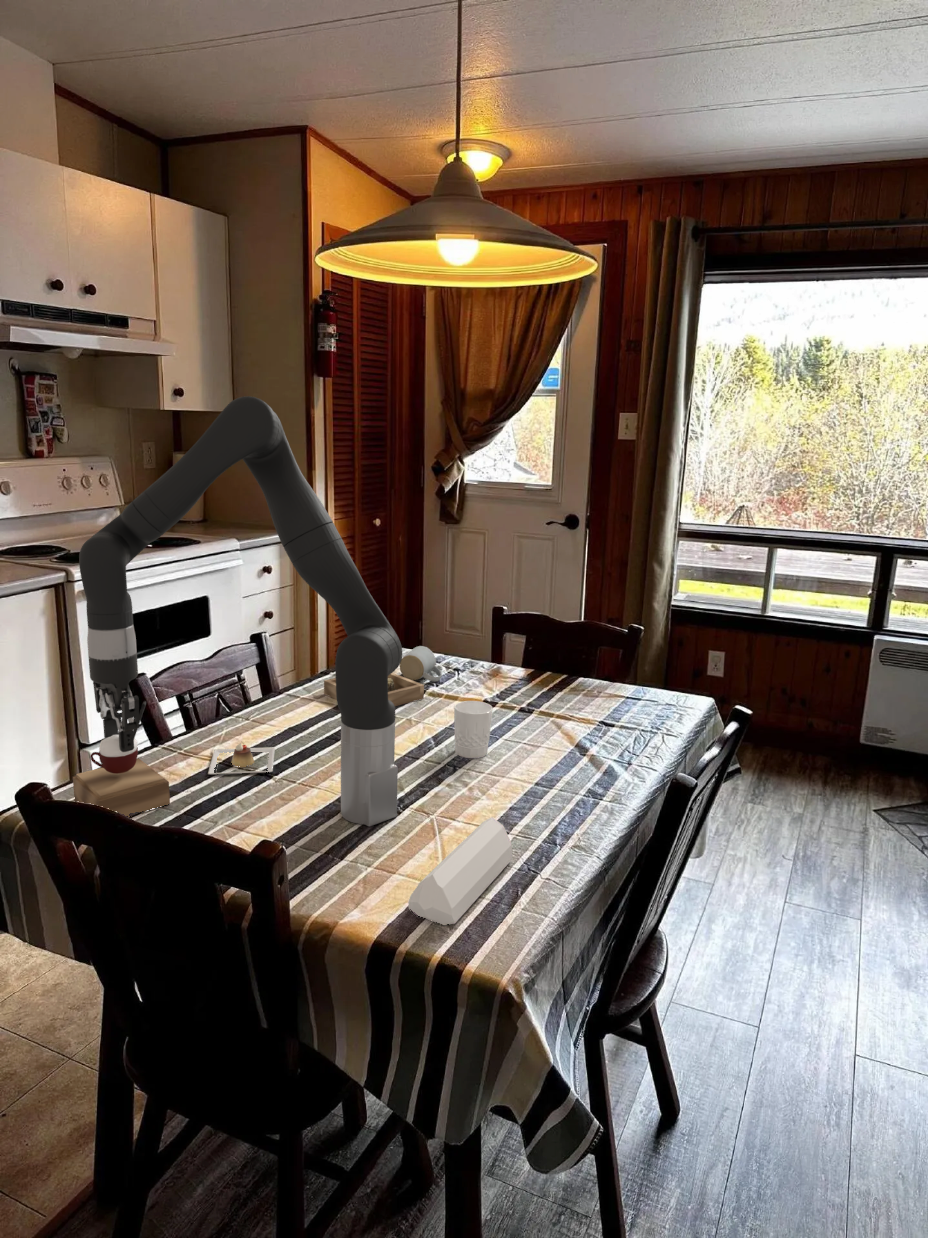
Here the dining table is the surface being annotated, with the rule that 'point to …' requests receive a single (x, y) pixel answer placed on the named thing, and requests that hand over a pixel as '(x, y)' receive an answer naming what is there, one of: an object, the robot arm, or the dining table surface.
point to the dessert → (242, 758)
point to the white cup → (472, 728)
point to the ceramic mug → (419, 664)
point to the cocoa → (117, 753)
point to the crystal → (463, 874)
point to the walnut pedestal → (123, 789)
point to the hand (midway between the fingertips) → (119, 744)
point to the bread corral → (401, 695)
